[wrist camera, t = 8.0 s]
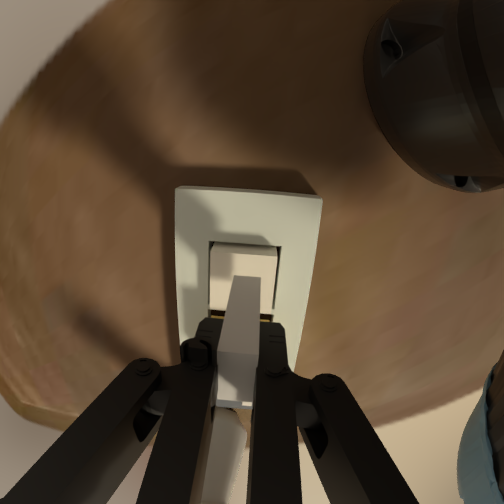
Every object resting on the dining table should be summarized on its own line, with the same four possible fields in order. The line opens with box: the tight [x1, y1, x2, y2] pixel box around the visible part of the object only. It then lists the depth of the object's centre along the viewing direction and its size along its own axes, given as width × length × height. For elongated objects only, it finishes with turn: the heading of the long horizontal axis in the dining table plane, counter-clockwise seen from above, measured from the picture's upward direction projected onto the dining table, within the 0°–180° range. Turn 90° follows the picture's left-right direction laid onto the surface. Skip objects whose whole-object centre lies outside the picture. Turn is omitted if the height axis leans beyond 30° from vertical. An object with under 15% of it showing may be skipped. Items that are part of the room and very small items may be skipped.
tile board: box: [175, 186, 323, 372], centre depth 21 cm, size 18×9×2 cm, turn 176°
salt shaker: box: [201, 407, 247, 504], centre depth 20 cm, size 6×6×13 cm
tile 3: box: [216, 399, 253, 409], centre depth 22 cm, size 4×4×2 cm
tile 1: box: [210, 241, 278, 314], centre depth 19 cm, size 4×4×2 cm
